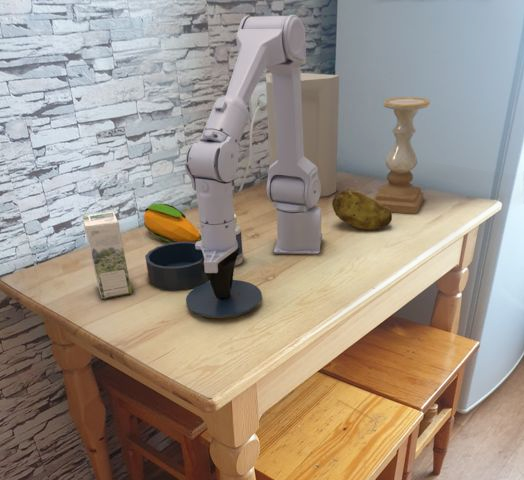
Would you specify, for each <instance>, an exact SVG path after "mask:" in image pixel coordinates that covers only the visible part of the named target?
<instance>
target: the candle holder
mask: <svg viewBox="0 0 524 480" xmlns="http://www.w3.org/2000/svg"><path fill="white" fill-rule="evenodd" d="M382 102H383V107H384V108H386V109H390V110H393V113H394V115H395V117H396V124H395V126H394V128H393V129H392V133H393V136H394V138H395V143H394V144H393V146H392V148H391V150H390V151H389V152H388V154H387V156H386V158H385V166H386V168H387V169H388V170H389V172H388V173H387V175H386V180H387V182H388V183H386V184H383V185H382V186H381V187H380V189H379V190H378V191H377V193H376V195H375V197H374V198H373V199H372V200H374V201H377V202H379V203H381V204H383V205H385V206H386V207H388V208H389V209H390V210H391V213H399V214H410V215H416V214H417V213H418V211H419V210H420V208H421V205H423V202H424V196H425V195H424V194H425V193H424V192H423V191H421V190H422V189H421V187H420V186H414V185H413V184H412V183H411V182H412V181H413V179H414V176H413V173H412V170H414V169H415V168H416V167H417V164H418V157H417V155H416V152H415V150H414V148H413V146H412V142H411V140H412V137H414V134H415V133H416V129H415V126H414V123H413V122H414V118H415V116H416V115H417V114H418V112H419V110H420V109H421V110H422V109H426V108H428V107H429V106H430V104H431V100H430V99H428V98H426V97H418V96H398V97H391V98H386V99H384V101H382Z"/></svg>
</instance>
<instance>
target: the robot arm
mask: <svg viewBox="0 0 524 480" xmlns="http://www.w3.org/2000/svg"><path fill="white" fill-rule="evenodd" d="M305 27H306V26H305V25H304V23H303V22H302V19H300V17H299V16H298V15H296V14H290V15H267V16H266V15H265V16H253V15H245V16H243V18H242V19H241V21H240V23H239V25H238V29H237V33H236V35H235V36H236V38H235V39H236V48H237V52H238V54H237V58H236V60H235V65H234V68H233V71H232V74H231V77H230V81H229V83H228V87H227V89H226V93H225V96H221V97H218V98H217V99H216V100H215V102H214V104H213V107H212V109H211V111H210V114H209V116H208V119H207V121H206V123H205V126H204V129H203V131H202V133H201V136H200V138H199V140H196V141H195V142H193V143H192V144H191V145H190V146H189V147H188V149H187V152H186V156H185V163H184V169H185V171H186V174H187V176H188V177H189V179H190V180H191V187H192V188H193V191H195V195H196V202H197V211H198V220H199V231H200V235H201V239H202V240H201V241H197V242H195V243H196V244H195V248H196V249H200V250H202V253H203V256H204V258H203V259H202V260H201V262H200V266H201V269H202V270H203V271H204V272H205V274H206V275H207V277H208V279H209V281H208V282H210V283H211V286H212V288H213V291H214V294H215V296H216V298H227V297H228V294H229V287H230V290H231V287H232V282H233V280H234V274H235V273H234V272H235V267H236V266H235V262H236V259H237V256H238V254H239V251H240V248H239V247H238V243H237V240H236V232H235V219H234V214H235V208H234V207H235V206H234V193H233V179H234V178H235V176H236V173H238V168H239V155H240V151H241V149H240V147H239V144H240V142H241V139H242V137H243V134H244V133H245V129H246V127H247V124H248V122H249V120H250V111H249V110H248V107H247V105H248V103H249V101H250V99H251V98H252V95H253V93H254V91H255V89H256V87H257V85H258V83H259V81H260V80H261V78H262V76H263V74H264V71H265V69H266V70H267V72H269V73H271V74H272V82H273V97H274V111H275V126H276V141H277V155H278V160H277V161H276V162H274V163H273V164H272V165H271V166H270V168H269V167H268V169H267V182H266V187H265V188H266V189H265V190H266V196H267V198H268V200H269V201H270V203H272V208H275V210H276V211H275V212H276V236H277V237H276V238H277V239H276V243H275V246H274V249H273V254H275V255H277V254H282V255H319V254H320V251H321V245H322V242H323V232H322V206H321V205H320V206H319V205H317V203H318V202H319V200H320V198H321V197H320V193H321V183H320V180H319V177H318V168H317V166H316V165H314V164H313V163H312V162H311V161H309V160H308V159H307V158H306V157H305V156H304V151H303V126H302V101H301V76H300V73H301V67H302V66H304V65H306V63H307V58H306V57H307V45H306V43H307V42H306V28H305Z"/></svg>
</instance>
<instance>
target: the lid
mask: <svg viewBox="0 0 524 480" xmlns="http://www.w3.org/2000/svg"><path fill="white" fill-rule="evenodd" d="M262 299H263V293H262V291H261V289H260V288H259V287H258V286H257V285H256V284H253V283H251V282H248V281H245V280H241V279H233V282H232V287H231V290H230V287H229V294H228V297H227V298H216V296H215V294H214V291H213V288H212V286H211V283H210V281H207V282H206V283H204V284H202V285H200V286H198V287H195V288H192V290H190V292H188V293H187V294H186V297H185V303H186V304H185V305H186V307H187V308H188V309H189V311H191V312H192V313H194V314H196V315H198V316H202V317H205V318H210V319H211V318H214V319H224V318H226V319H227V318H233V317H239V316H242V315H245V314H247V313H249V312H251V311H253V310H254V309H256V308H257V307H258V306H259V305H260V304H261V302H262Z"/></svg>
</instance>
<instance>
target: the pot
mask: <svg viewBox="0 0 524 480" xmlns="http://www.w3.org/2000/svg"><path fill="white" fill-rule="evenodd" d="M196 243H197V242H178V241H174V242H173V243H171V242H168V243H165V244H162V245H159V246H156V247H154V248H152V249H151V250H149V251H148V252H147V254H146V255H145V256H144V257H145V263H146V269H147V275H148V281H149V283H150V284H151V285H152V286H153V287H155V288H157V289H160V290H164V291H184V290H185V291H186V290H190V289H194V288H196V287H198V286H200V285H202V284H205V283H208V282H210V281H209V279H208V277H207V275H206V274H205V272H204V271H203V270H202V269H201V266H200V262H201V260H202V259H203V258H204V256H203V253H202V250H200V249H196V248H195V244H196Z"/></svg>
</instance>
